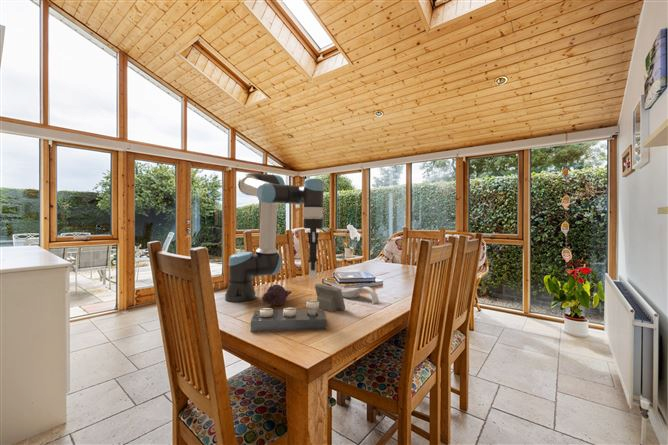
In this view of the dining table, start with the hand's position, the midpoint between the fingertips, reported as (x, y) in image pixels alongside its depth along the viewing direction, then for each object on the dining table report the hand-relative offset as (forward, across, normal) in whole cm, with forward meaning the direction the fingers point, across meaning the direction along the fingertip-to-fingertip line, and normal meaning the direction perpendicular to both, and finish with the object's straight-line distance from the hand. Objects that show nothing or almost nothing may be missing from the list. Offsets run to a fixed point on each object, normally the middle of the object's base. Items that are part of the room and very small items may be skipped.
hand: (312, 278), depth 121 cm
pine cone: (+19, +27, +16) cm, 37 cm away
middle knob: (+18, 0, +9) cm, 20 cm away
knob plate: (+19, 0, +9) cm, 20 cm away
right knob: (+15, 0, 0) cm, 15 cm away
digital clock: (+19, +22, -9) cm, 31 cm away
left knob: (+18, 0, +18) cm, 25 cm away
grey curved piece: (+19, +38, -26) cm, 49 cm away
